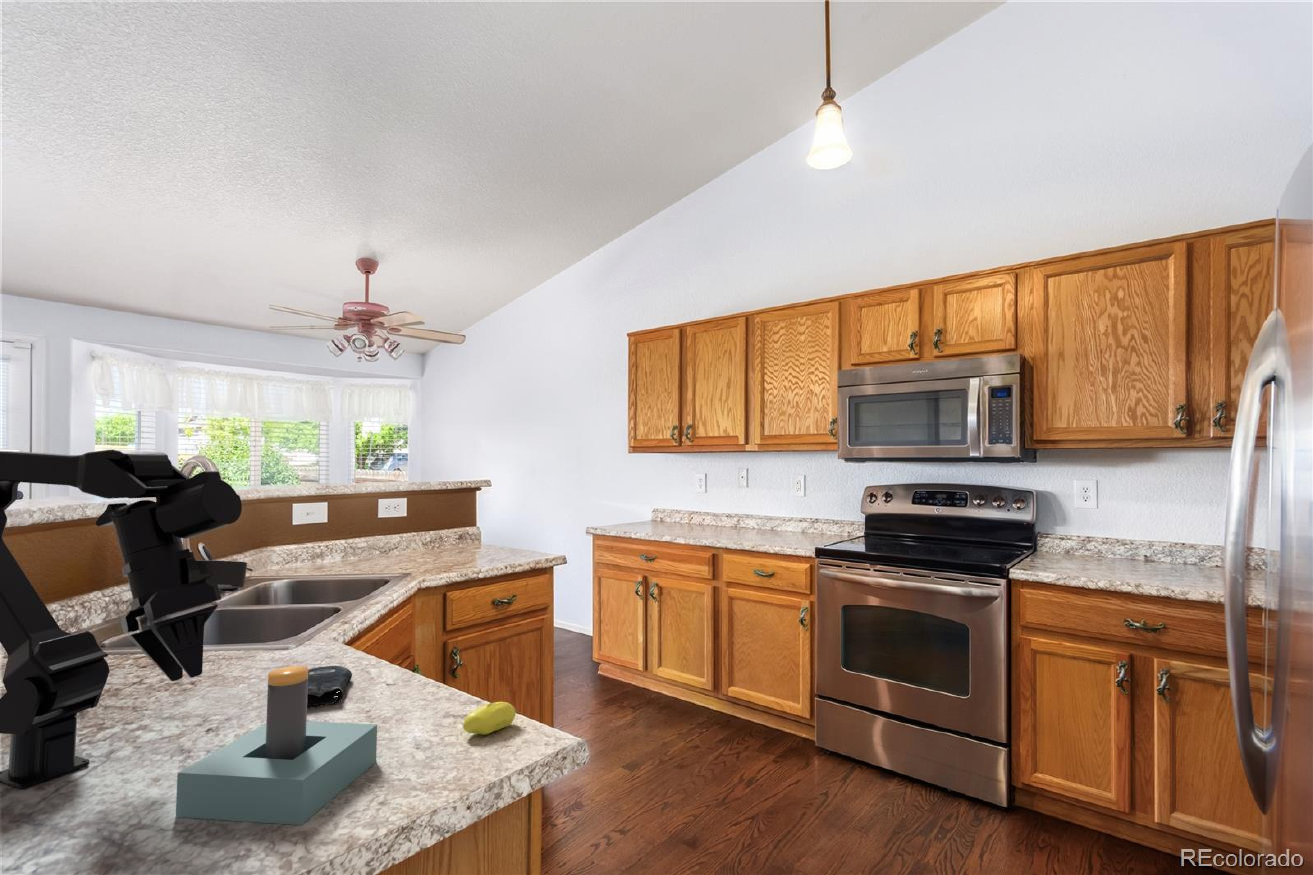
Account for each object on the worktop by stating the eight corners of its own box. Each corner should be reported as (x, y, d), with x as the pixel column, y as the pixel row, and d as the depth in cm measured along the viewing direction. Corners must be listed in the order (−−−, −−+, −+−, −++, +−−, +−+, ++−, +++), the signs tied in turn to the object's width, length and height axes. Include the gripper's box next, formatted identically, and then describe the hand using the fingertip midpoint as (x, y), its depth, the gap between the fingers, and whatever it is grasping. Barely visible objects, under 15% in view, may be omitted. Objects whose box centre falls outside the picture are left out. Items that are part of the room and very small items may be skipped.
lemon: (522, 728, 88) (522, 700, 88) (469, 745, 83) (469, 715, 83) (507, 719, 91) (508, 692, 91) (455, 735, 86) (455, 706, 86)
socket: (175, 817, 65) (177, 772, 65) (271, 755, 79) (272, 719, 79) (301, 825, 64) (302, 779, 64) (376, 761, 78) (377, 724, 78)
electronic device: (349, 715, 97) (354, 672, 110) (345, 681, 96) (350, 642, 110) (280, 732, 93) (294, 686, 107) (275, 697, 92) (290, 655, 106)
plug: (260, 786, 71) (264, 671, 72) (299, 775, 74) (303, 663, 75) (268, 799, 68) (272, 679, 69) (308, 787, 71) (312, 671, 72)
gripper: (253, 518, 75) (287, 644, 74) (211, 546, 87) (240, 655, 85) (135, 543, 66) (172, 686, 65) (107, 570, 78) (138, 693, 77)
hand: (186, 678), depth 73 cm, fingers open, 9 cm apart
